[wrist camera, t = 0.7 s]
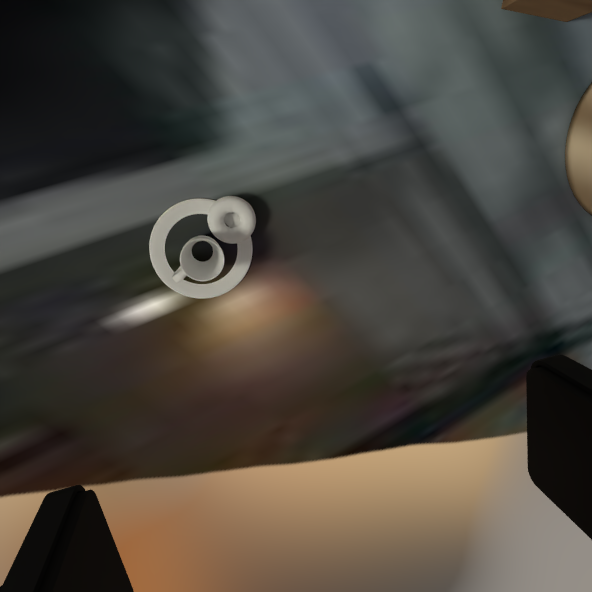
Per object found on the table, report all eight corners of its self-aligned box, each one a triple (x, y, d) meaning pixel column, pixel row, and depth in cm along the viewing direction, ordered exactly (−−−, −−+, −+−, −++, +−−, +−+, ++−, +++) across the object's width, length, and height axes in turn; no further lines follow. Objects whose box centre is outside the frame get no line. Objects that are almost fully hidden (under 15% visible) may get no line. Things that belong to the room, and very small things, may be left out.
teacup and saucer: (243, 181, 35) (247, 183, 31) (273, 275, 37) (281, 287, 34) (133, 216, 34) (124, 222, 30) (172, 309, 37) (168, 326, 33)
